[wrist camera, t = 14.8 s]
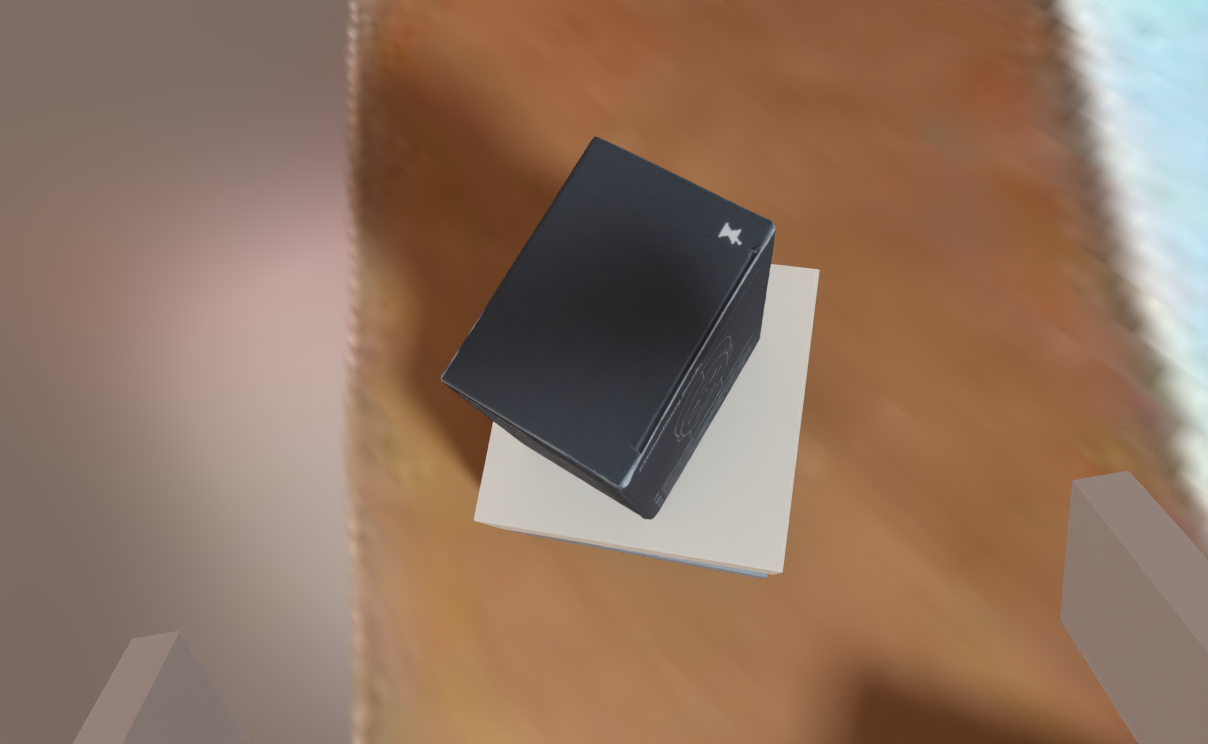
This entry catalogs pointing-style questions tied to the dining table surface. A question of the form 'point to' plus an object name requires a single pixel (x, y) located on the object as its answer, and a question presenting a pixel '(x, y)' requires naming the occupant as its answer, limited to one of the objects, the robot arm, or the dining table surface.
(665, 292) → the box
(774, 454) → the tower top
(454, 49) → the dining table surface
